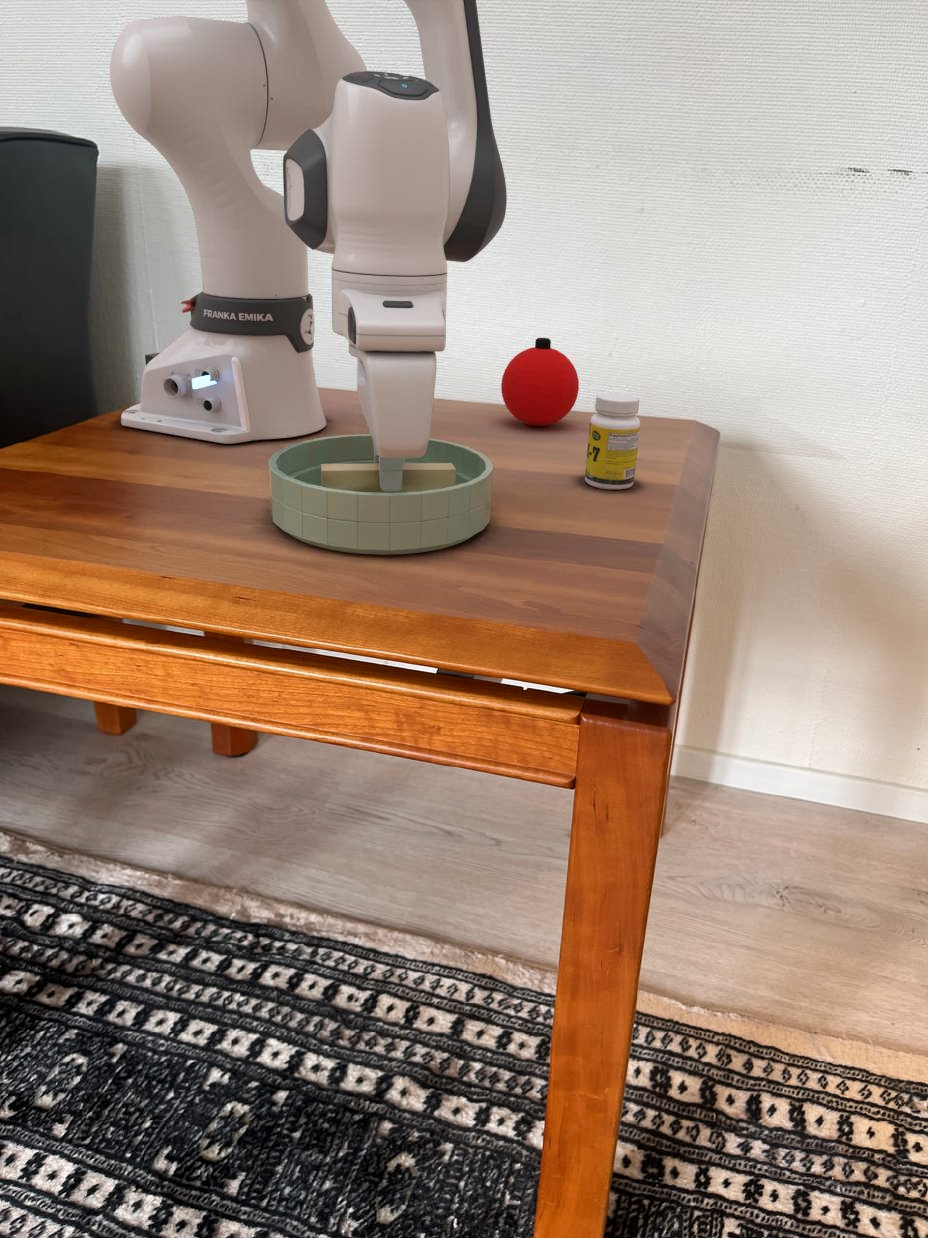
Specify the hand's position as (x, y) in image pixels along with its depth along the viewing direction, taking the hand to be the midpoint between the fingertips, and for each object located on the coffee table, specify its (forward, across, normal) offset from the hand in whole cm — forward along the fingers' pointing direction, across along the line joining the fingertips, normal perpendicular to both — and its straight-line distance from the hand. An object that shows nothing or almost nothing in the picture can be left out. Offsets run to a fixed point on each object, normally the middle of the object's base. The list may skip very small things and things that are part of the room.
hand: (387, 483), depth 82 cm
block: (+2, 0, 0) cm, 2 cm away
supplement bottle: (+3, -9, +22) cm, 24 cm away
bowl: (+3, 0, 0) cm, 3 cm away
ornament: (+3, -33, +21) cm, 39 cm away
